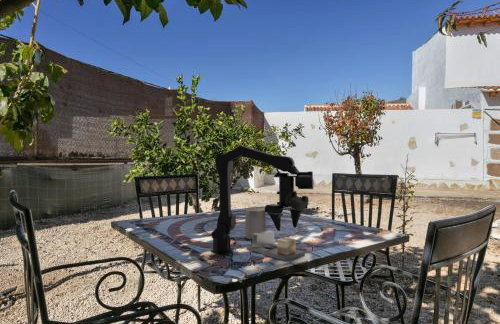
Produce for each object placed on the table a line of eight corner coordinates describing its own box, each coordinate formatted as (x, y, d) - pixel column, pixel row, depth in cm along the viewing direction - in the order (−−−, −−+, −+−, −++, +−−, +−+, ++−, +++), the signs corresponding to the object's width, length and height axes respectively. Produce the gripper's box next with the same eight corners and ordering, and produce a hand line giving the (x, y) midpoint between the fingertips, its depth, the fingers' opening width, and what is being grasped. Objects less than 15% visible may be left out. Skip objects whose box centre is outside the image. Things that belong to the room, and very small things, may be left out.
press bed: (285, 261, 133) (285, 256, 133) (245, 249, 150) (245, 245, 150) (304, 255, 140) (304, 251, 140) (264, 244, 157) (264, 240, 157)
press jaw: (257, 247, 145) (256, 235, 145) (252, 246, 147) (252, 233, 147) (274, 243, 152) (274, 231, 152) (269, 241, 154) (269, 230, 154)
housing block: (286, 254, 136) (286, 241, 136) (277, 252, 140) (277, 239, 140) (295, 252, 139) (295, 239, 139) (286, 249, 143) (286, 237, 143)
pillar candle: (255, 234, 178) (255, 203, 177) (270, 237, 171) (269, 205, 170) (241, 237, 171) (240, 206, 171) (255, 241, 164) (255, 208, 164)
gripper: (285, 192, 127) (285, 236, 127) (318, 188, 139) (318, 228, 140) (263, 190, 135) (263, 231, 136) (296, 186, 148) (296, 224, 148)
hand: (286, 229), depth 139 cm, fingers open, 9 cm apart
